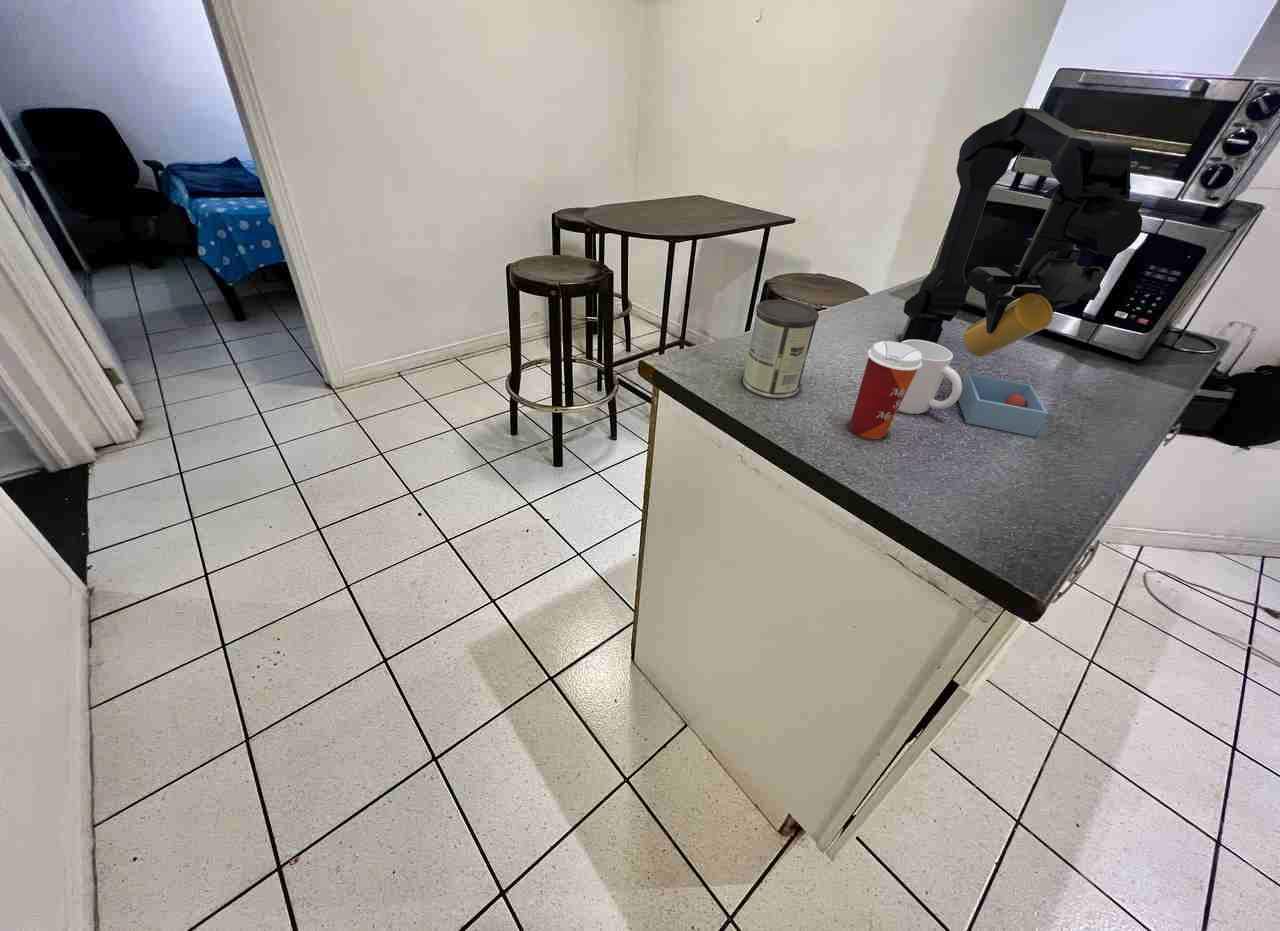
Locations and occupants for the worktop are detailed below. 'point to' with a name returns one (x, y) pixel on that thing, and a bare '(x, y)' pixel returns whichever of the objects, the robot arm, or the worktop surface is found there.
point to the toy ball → (1016, 400)
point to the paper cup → (883, 387)
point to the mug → (930, 379)
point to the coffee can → (779, 347)
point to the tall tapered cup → (1010, 325)
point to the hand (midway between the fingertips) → (1007, 333)
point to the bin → (1000, 405)
